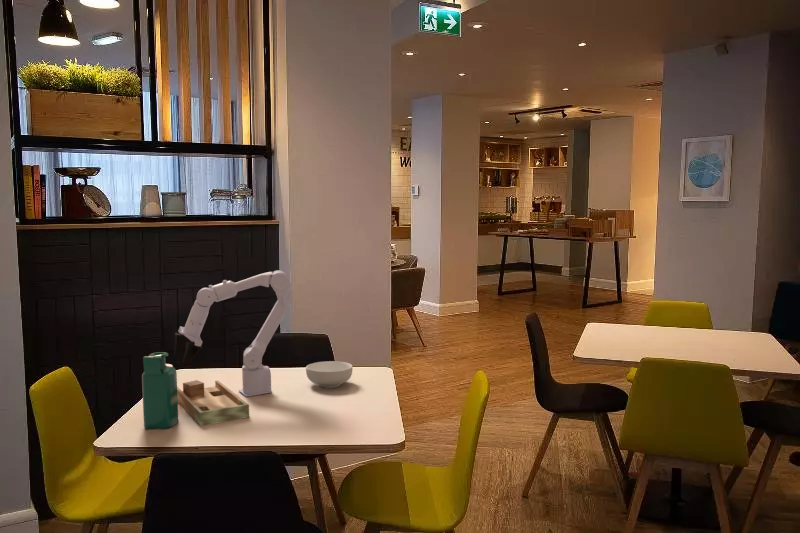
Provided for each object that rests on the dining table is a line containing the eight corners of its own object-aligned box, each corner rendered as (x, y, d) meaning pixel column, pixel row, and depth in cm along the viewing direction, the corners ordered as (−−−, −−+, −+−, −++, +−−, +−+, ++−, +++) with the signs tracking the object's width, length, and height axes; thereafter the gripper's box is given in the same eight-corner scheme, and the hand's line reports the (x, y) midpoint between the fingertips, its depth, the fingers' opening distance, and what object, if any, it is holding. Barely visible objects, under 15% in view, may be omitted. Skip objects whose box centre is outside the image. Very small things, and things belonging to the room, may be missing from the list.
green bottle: (153, 419, 204) (150, 349, 202) (180, 419, 204) (177, 349, 202) (139, 430, 194) (136, 357, 192) (168, 430, 194) (165, 357, 192)
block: (183, 394, 224) (182, 383, 223) (196, 391, 227) (196, 380, 227) (190, 397, 220) (190, 385, 220) (204, 394, 224) (203, 382, 223)
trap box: (218, 391, 234) (218, 380, 234) (249, 417, 206) (248, 404, 206) (174, 398, 226) (174, 386, 226) (200, 425, 198) (200, 412, 198)
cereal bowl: (361, 382, 245) (361, 364, 244) (333, 394, 231) (333, 374, 230) (325, 376, 254) (325, 358, 253) (296, 386, 240) (296, 367, 239)
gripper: (176, 312, 228) (162, 349, 228) (194, 326, 218) (179, 364, 218) (194, 316, 233) (180, 352, 233) (213, 330, 223) (198, 368, 223)
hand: (181, 358), depth 226 cm, fingers open, 7 cm apart
